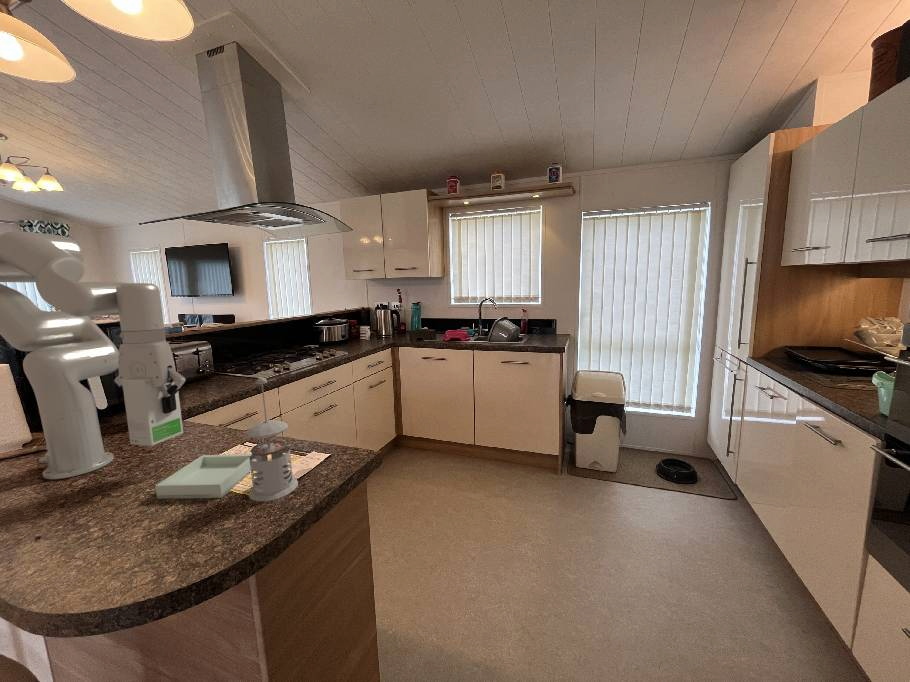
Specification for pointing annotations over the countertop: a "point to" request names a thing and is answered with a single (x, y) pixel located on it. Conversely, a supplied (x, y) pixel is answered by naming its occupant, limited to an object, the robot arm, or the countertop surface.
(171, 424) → the skincare box
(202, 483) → the tray
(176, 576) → the countertop surface
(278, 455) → the french press
